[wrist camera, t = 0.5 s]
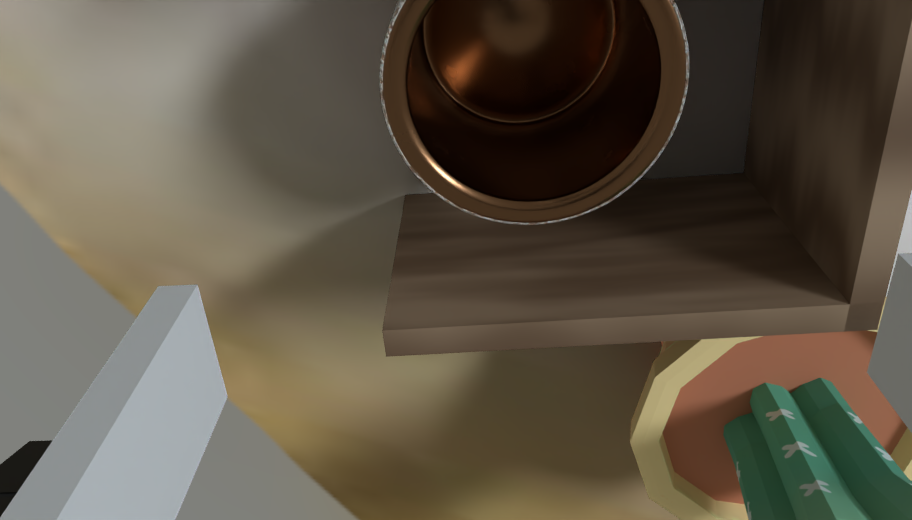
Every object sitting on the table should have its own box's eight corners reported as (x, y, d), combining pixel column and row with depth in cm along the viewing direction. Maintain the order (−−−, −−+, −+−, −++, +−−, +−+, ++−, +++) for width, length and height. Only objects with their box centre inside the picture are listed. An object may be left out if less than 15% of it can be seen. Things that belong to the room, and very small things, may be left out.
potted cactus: (703, 166, 37) (1032, 629, 16) (945, 278, 40) (1501, 798, 19) (555, 386, 44) (640, 917, 23) (771, 468, 47) (1027, 1006, 26)
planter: (365, 88, 36) (334, 167, 27) (452, -152, 31) (446, -146, 22) (569, 170, 38) (599, 267, 29) (683, -43, 33) (757, 0, 24)
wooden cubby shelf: (357, -198, 30) (299, -215, 19) (825, -241, 29) (1026, -282, 18) (408, 216, 39) (386, 356, 28) (764, 193, 38) (877, 329, 28)
